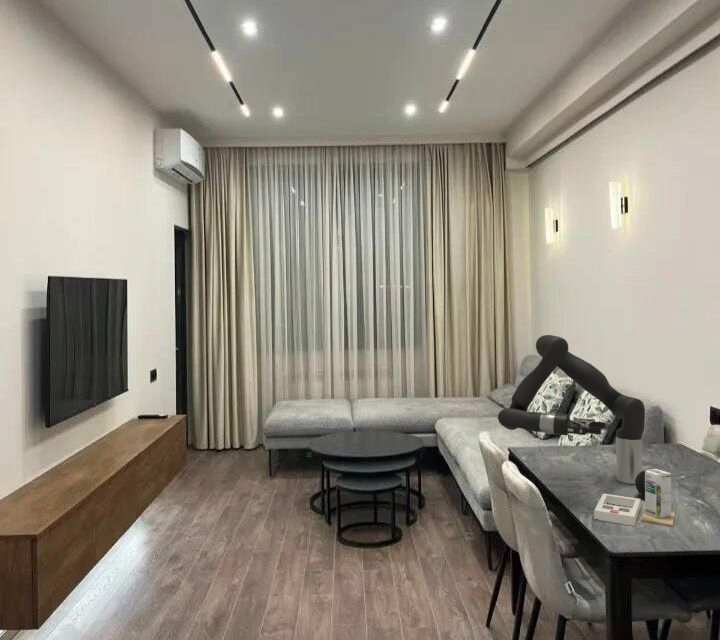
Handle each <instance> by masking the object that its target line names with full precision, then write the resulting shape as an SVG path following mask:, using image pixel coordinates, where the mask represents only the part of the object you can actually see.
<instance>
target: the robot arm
mask: <svg viewBox="0 0 720 640" xmlns="http://www.w3.org/2000/svg"><path fill="white" fill-rule="evenodd" d="M535 348H536V349H535V350H536V352H537V354H538V355H539V356H540V357H541V360H540V361H539V363H538V364H537V366H535V368H534V369H533V370H532V371H531V372H529V373H528V375H526V376H525V377H524V378H523V379H522V380H521V382H520V383H519V384H518V385H517V386H518V387H516V389H515V391H514V393H513V394H512V396H511V404H510V406H509V407H508V408H504V409H501V410H500V411H499V412H498V414H497V420H498V422H499V424H500V425H501V426H502V427H504V428H505V429H507V430H510V431H513V430H517V429H523V430H526V431H530V432H537V433H544V434H548V435H559V436H566V437H567V436H569V434H573V435H580V436H586V435H589V434H590V435H598V436H599V435H601V434H602V430H605V428H606V422H603V421H594V420H593V419H590V418H578V417H576V418H574V420H573V419H571V418H570V415H569V414H566V413H557V412H556V413H555V412H537V411H528V408H529V407H530V405H531V403H532V402H533V400H534V399H535V397H536V395H537V394H538V392H539V391H540V389H541V387H542V386H543V384H544V383H545V382H546V381H547V380H548V378H549V377H550V375H552V373H553V372H554V371H555V370H556V369H557V368H559V369H560V370H561V371H562V372H563V373H564V374H565V375H567V377H569V378H570V380H572V381H573V382H575V383H576V384H577V385H578V386H579V387H580V388H582V389H583V390H584V391H586V392H587V393H588V394H590V395H592V397H594V398H595V399H596V400H599V402H601V403H602V404H603V406H605V407H606V408H607V409H608V410H609V411H610V412H611V413H612V414H613V415H614V416H615V417H617V418H619V419H620V420H621V419H622V420H623V425H622V427H618V428H617V429H616V430H615V433H616V434H615V437H616V438H615V441H616V442H615V444H616V445H615V446H616V448H615V449H616V450H615V451H616V453H615V454H616V456H615V457H616V463H615V464H616V470H615V471H616V481H618V482H621V483H624V484H628V485H629V484H631V485H635V479H636V477H637V475H638V474H639V473H640V472H642V471H643V434H644V430H645V421H646V420H645V419H646V408H645V404H644V403H643V401H642V400H641V399H639V398H636V397H632V396H629V395H624V394H623V393H622V392H621V393H620V392H619V391H618V390H616V389H614V388H613V387H612V386H611V384H610V383H609V380H608V378H607V377H606V375H605V374H604V373H602V371H600V370H599V369H598V368H597V367H595V366H594V365H593V364H591V363H589V362H587V361H586V360H584V359H583V358H582V357H579V356H577V355H575V354H573V353H571V352H569V344H568V341H567V340H566V339H565V338H564V337H561V336H557V335H553V334H545V335H541V336H540V337H538V338H537V340H536V343H535Z"/></svg>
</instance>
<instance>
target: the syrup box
mask: <svg viewBox="0 0 720 640" xmlns="http://www.w3.org/2000/svg"><path fill="white" fill-rule="evenodd" d="M646 470H647V471H645V497H644V499H645V500H644V510H645V513H646V514H649V515H652V516H654V517H656V518H658V519H659V518H664V517H668V516H671V510H672V473H671V472H668V471H664V470H661V469H658V468H653V469H652V468H651V469H646Z"/></svg>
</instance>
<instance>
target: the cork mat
mask: <svg viewBox="0 0 720 640" xmlns="http://www.w3.org/2000/svg"><path fill="white" fill-rule="evenodd" d="M675 515H676V509H671V516H668V517H664V518H659V519H658V518H656V517H654V516H652V515H649V514H646V513H645V509H643V513H642V516H641V519H640V522H643V523H649V524H653V523H655V525H659V524H663V525H662V526H665V525H669V526H668V527H671V526H673V527H674V523H675V522H674V521H675ZM673 522H674V523H673Z"/></svg>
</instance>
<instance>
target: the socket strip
mask: <svg viewBox="0 0 720 640" xmlns="http://www.w3.org/2000/svg"><path fill="white" fill-rule="evenodd" d="M641 501H642V499H641V498H636V497H628V496H621V495H617V494H608V493H602V496H601V497H600V499H599V501H598V502H597V504H596V506H595V508H594V510H593V511H594V512H593V514H594V515H593V516H594V517H593V518H594V520H596V519H598V520H597V521H604V522H608V523H615V524H620V525H625V526H632V527H635V525H636V522H637V520H638V516H639V513H640V511H641V508H642V507H641V506H642V505H641V504H642V503H641ZM607 503H609V504H607ZM612 504H615V505H612ZM618 505H620V506H618ZM625 506H626V507H625ZM631 507H632V508H631Z"/></svg>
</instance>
